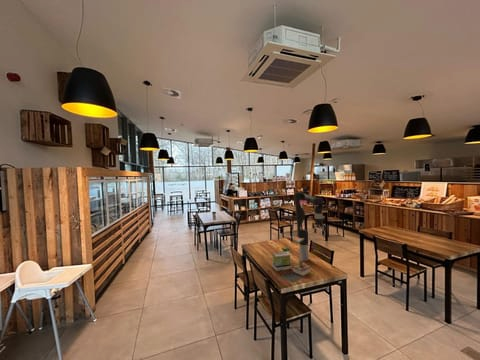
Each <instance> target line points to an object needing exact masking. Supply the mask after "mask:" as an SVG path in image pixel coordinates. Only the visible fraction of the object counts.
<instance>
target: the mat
mask: <svg viewBox="0 0 480 360" xmlns="http://www.w3.org/2000/svg"><path fill="white" fill-rule="evenodd" d="M280 278H282V279H284V280H285V281H288V282H290V283H292V284H293V283H296V282H297V281H299V280H301V279H302V278H304V276H302V275H300V274H297V273H295V272H292V271H289V272H287V273H285V274H283V275H281V276H280Z"/></svg>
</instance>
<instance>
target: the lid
mask: <svg viewBox="0 0 480 360" xmlns="http://www.w3.org/2000/svg"><path fill="white" fill-rule="evenodd" d="M291 267H292V269H293V268H295V269H298V270H300V271H305V270H307V269H309V268H310V269H311V268H312V266H310V265H308V264H304V261H303V260H300V259H299V263H296V264H294V265H292V266H291Z"/></svg>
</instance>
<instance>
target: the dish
mask: <svg viewBox="0 0 480 360" xmlns="http://www.w3.org/2000/svg"><path fill="white" fill-rule="evenodd" d="M292 269H293V272H292V273H295V274H297V275H299V276H302V277H304V276H306V275H307V274H309V273H311V268H309V269H307V270H305V271H300V270H298V269H295V268H293V267H292Z"/></svg>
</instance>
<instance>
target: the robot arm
mask: <svg viewBox="0 0 480 360" xmlns="http://www.w3.org/2000/svg"><path fill="white" fill-rule="evenodd" d="M293 199H294V206H295V215H296V216H295V217H296V225H297V226H296V228H297V231H296V232H297V237H298V239H301V240H299V246H298V247H299V250H298V254H299V255H298V257H299V260H303V262H307V261H309V260H310V255H309V233H308V229H306V228H305V229H301V227H302V224H303V222H304V221H305V218H306V215H305V210H304V209H303V207H302V206H301V204H300V201H304V200H305V201H306V202H307V203H310V204H312V205H314V206H315V207H314V222H312V224H311V229H313V230H314V231H313V233H314V234H317V229H320V230H321V233H322V234H321V235H323V236H325V233H326V231H327V224H326V223H324V219H323V217H324V216H323V207H324V206H323V205H324V199H323V198H322V197H315V196H312V195H309V194H306V193H305V192H303V191H295V192H294V194H293Z"/></svg>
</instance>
